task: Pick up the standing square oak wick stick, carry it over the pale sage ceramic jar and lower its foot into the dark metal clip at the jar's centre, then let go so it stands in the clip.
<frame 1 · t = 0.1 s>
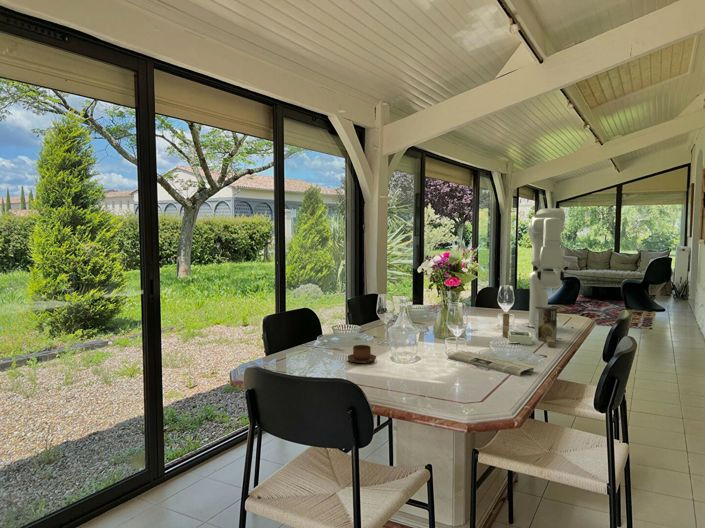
hand: (550, 280, 238), 31 cm above the table, tool pointing down, fingers open, 9 cm apart
cup and saucer: (361, 361, 211), on the table
oak wick: (505, 336, 258), on the table
newspaper: (491, 366, 206), on the table
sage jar: (519, 341, 246), on the table
coffee box: (545, 339, 252), on the table
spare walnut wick: (550, 345, 241), on the table
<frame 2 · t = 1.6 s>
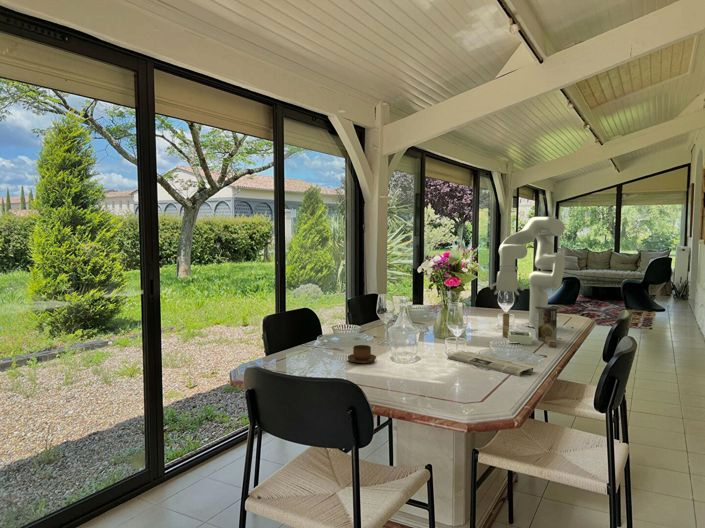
hand: (506, 302, 257), 18 cm above the table, tool pointing down, fingers open, 9 cm apart
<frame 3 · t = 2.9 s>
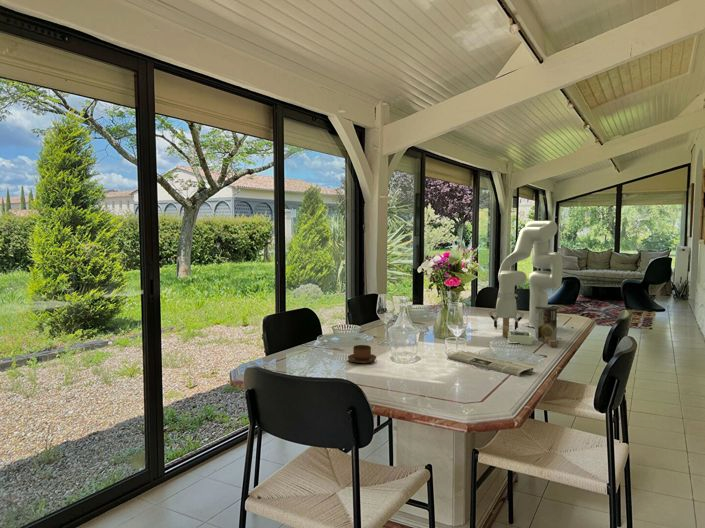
hand: (505, 328, 258), 4 cm above the table, tool pointing down, fingers open, 9 cm apart
nothing on the table moved.
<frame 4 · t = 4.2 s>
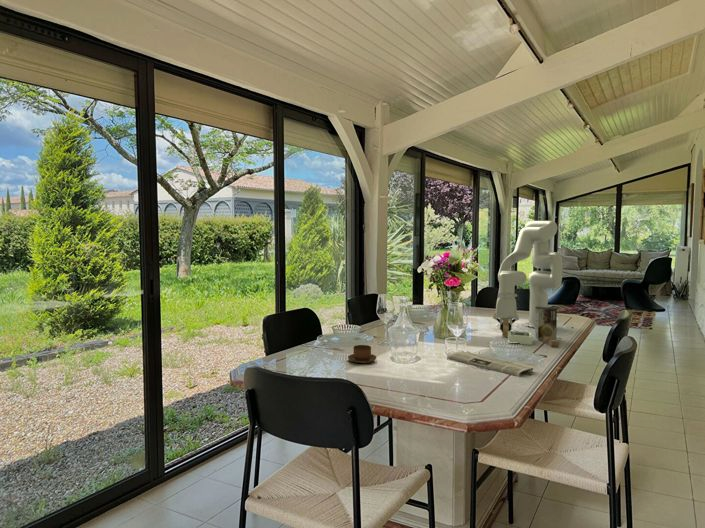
hand: (505, 331, 258), 3 cm above the table, tool pointing down, fingers closed on oak wick, 2 cm apart
oak wick: (505, 336, 258), on the table, touching gripper
everything else where it was.
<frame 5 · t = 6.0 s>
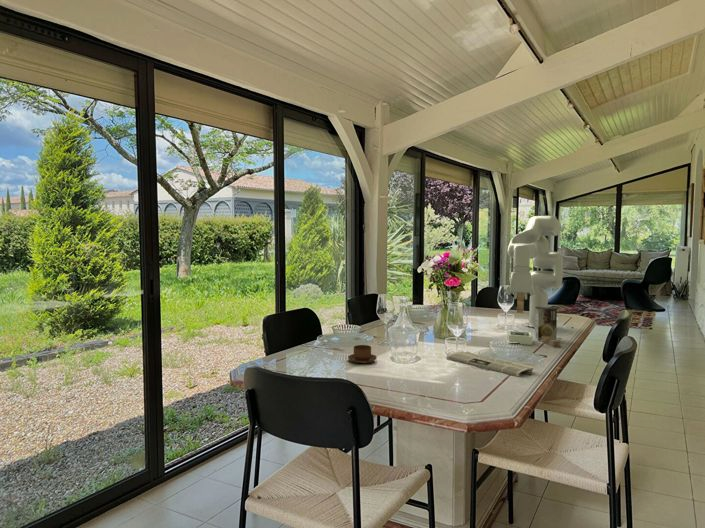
hand: (520, 306, 245), 17 cm above the table, tool pointing down, fingers closed on oak wick, 3 cm apart
oak wick: (519, 312, 245), point 14 cm above the table, touching gripper
when the fingers open (5 cm above the table, at t = 8.3 s): oak wick drops 1 cm, resting on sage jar.
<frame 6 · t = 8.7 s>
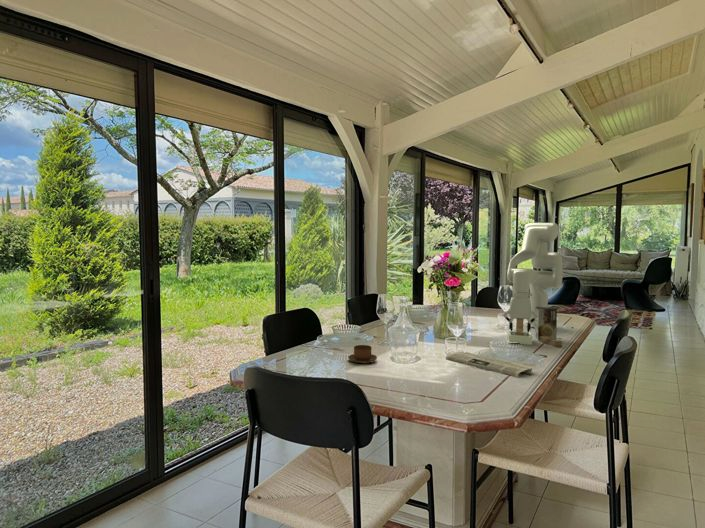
hand: (519, 330, 246), 5 cm above the table, tool pointing down, fingers open, 7 cm apart
oak wick: (519, 339, 246), point 1 cm above the table, touching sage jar
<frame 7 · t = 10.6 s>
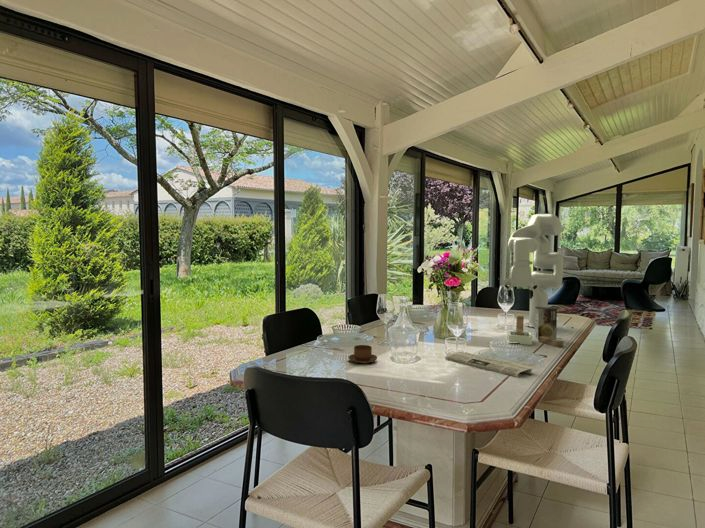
hand: (520, 298, 248), 21 cm above the table, tool pointing down, fingers open, 9 cm apart
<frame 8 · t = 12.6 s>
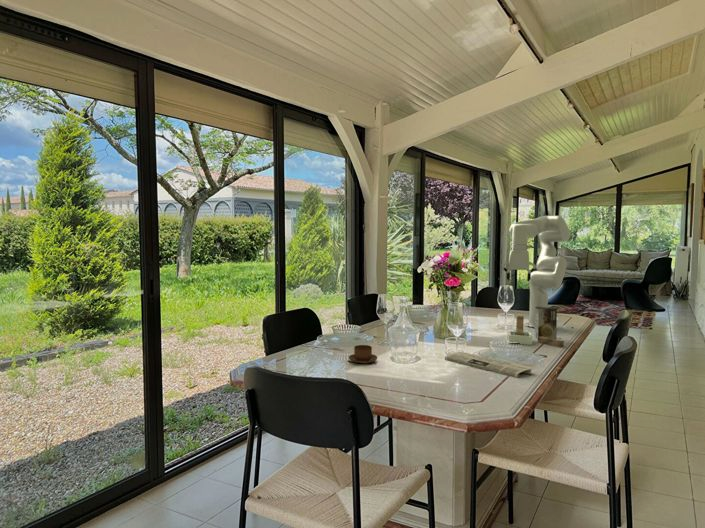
hand: (518, 280, 261), 28 cm above the table, tool pointing down, fingers open, 9 cm apart
at the end: oak wick 0.1 cm off-centre on the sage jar, point 0.8 cm above the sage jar's base; oak wick tilted 0°; the gripper is holding nothing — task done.
